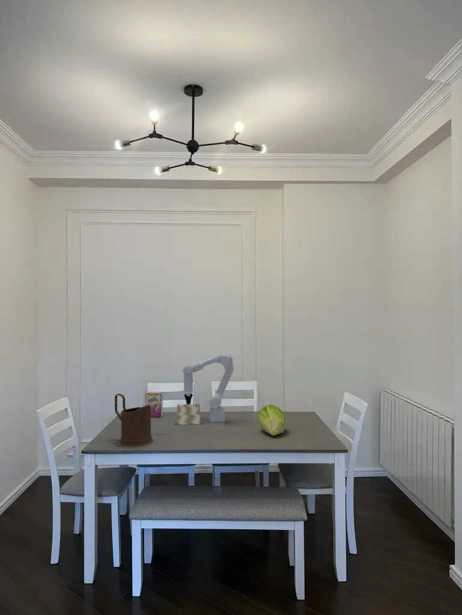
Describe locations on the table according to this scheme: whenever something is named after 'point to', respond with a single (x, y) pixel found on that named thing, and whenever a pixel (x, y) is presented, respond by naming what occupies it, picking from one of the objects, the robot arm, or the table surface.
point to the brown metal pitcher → (134, 424)
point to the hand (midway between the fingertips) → (188, 405)
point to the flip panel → (188, 414)
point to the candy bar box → (155, 403)
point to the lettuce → (272, 419)
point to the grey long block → (176, 422)
